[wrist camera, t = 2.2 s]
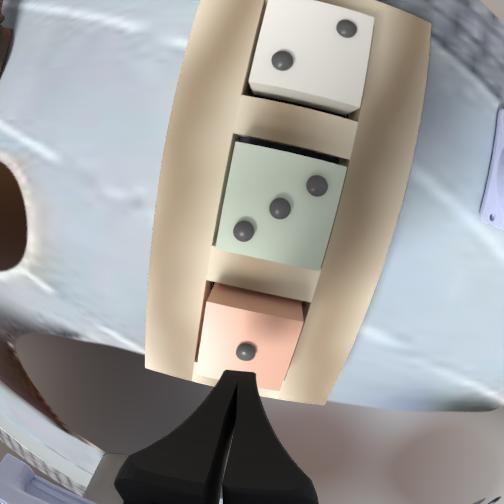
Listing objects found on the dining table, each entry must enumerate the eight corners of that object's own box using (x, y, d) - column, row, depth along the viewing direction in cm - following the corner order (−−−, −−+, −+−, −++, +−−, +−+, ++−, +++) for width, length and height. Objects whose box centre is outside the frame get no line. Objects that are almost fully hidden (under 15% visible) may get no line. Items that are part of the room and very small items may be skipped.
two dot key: (358, 37, 13) (375, 15, 10) (345, 115, 14) (361, 107, 11) (271, 17, 13) (269, -10, 10) (253, 94, 14) (248, 80, 11)
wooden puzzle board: (414, 36, 13) (431, 23, 11) (320, 381, 21) (324, 405, 18) (218, -10, 13) (210, -30, 11) (157, 347, 21) (145, 367, 18)
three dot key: (334, 164, 15) (348, 167, 12) (312, 251, 17) (320, 273, 14) (243, 143, 15) (234, 141, 12) (225, 232, 17) (214, 250, 14)
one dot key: (300, 295, 18) (304, 324, 14) (279, 360, 19) (279, 393, 16) (217, 277, 18) (205, 303, 15) (206, 344, 19) (195, 376, 16)
